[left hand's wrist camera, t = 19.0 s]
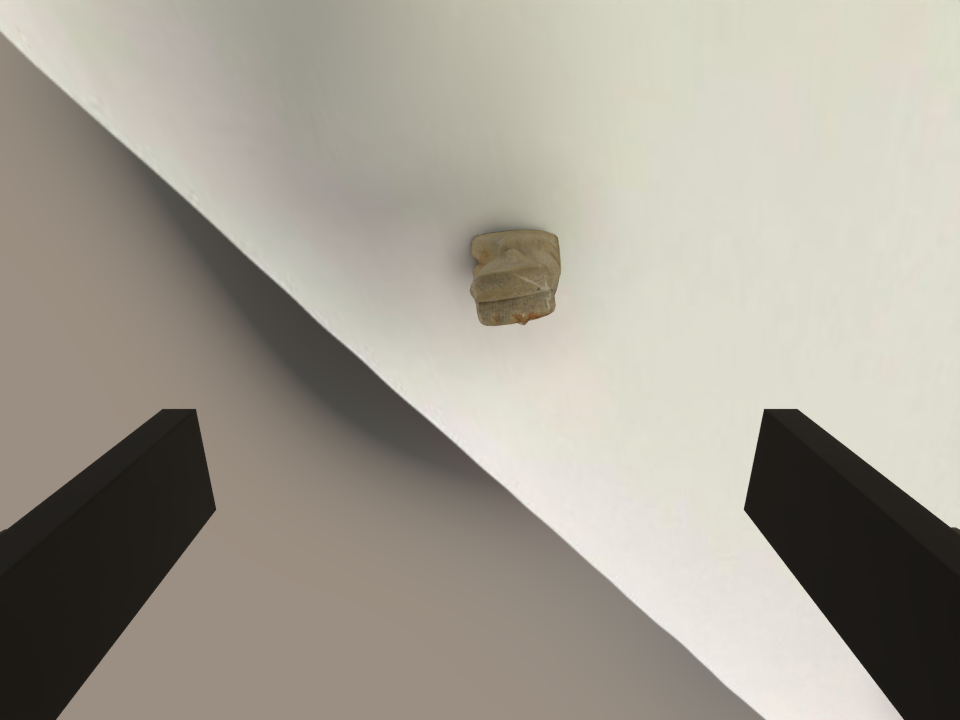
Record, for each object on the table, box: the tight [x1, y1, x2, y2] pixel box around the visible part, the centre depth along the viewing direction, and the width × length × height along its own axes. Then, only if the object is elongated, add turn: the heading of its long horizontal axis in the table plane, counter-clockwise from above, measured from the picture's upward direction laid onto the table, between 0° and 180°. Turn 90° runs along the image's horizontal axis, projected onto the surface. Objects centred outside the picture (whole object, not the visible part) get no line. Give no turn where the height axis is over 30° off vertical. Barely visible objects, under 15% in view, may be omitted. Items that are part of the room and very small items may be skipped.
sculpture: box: [470, 230, 561, 326], centre depth 39 cm, size 6×7×15 cm
